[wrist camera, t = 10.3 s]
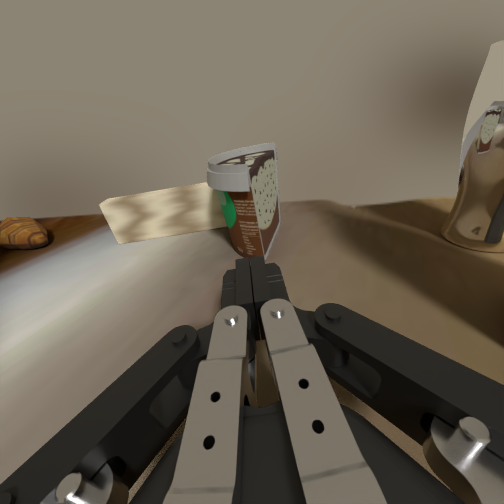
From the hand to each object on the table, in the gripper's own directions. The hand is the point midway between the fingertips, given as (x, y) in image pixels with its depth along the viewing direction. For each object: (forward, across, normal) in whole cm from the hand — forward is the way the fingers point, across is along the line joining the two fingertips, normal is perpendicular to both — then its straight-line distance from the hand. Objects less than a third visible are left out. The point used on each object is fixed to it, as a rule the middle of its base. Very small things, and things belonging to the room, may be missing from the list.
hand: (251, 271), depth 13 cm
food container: (+15, 0, +6) cm, 17 cm away
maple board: (+22, +8, +6) cm, 24 cm away
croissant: (+27, +38, +6) cm, 47 cm away
